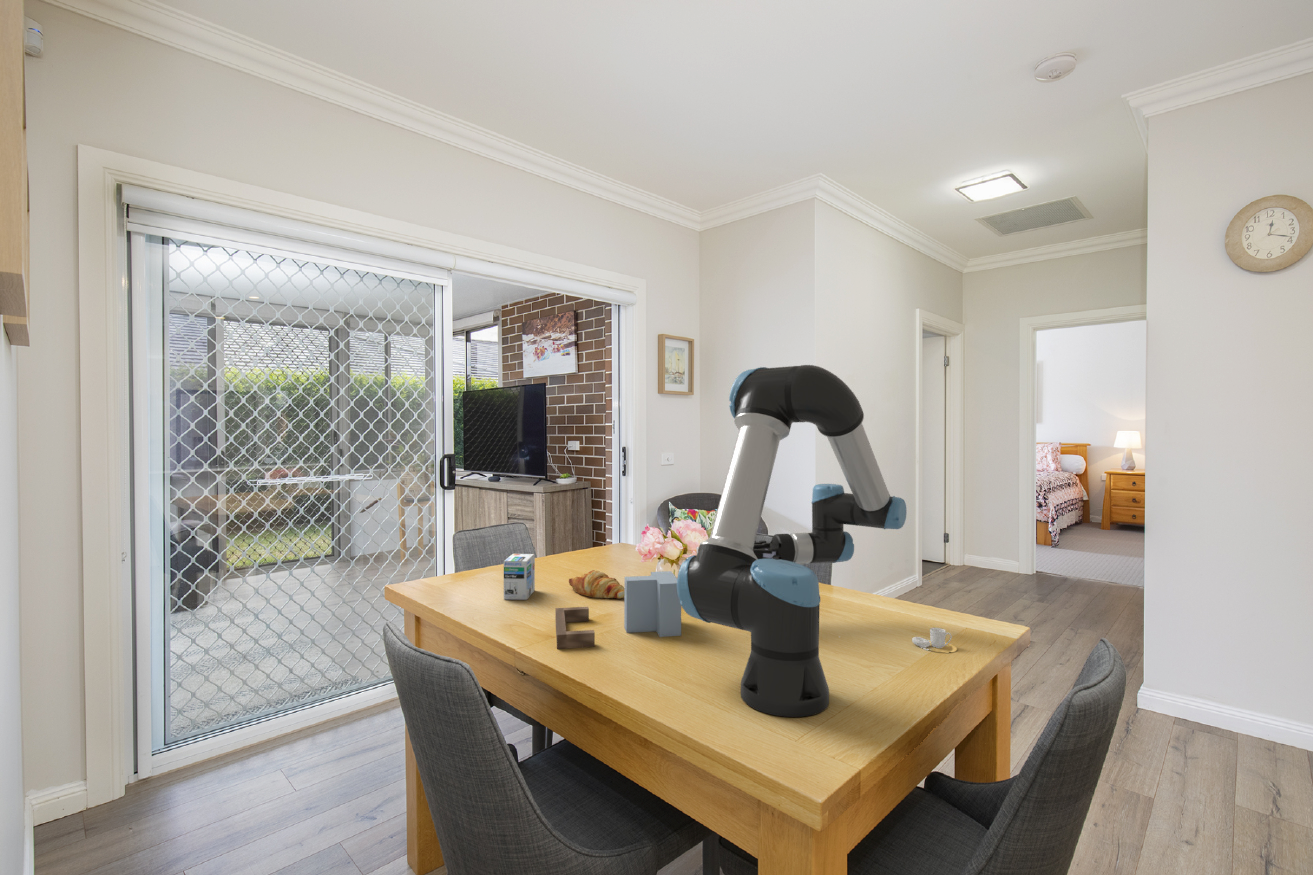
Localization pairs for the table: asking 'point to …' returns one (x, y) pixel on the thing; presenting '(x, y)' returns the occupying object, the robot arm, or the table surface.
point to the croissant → (597, 585)
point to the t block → (652, 604)
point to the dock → (573, 637)
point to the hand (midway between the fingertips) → (697, 553)
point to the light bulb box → (519, 576)
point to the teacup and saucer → (932, 639)
